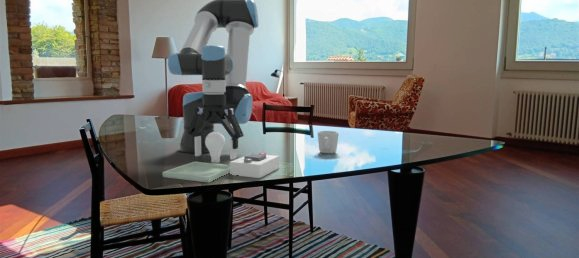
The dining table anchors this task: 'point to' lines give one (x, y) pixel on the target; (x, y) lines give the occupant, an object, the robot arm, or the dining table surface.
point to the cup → (328, 141)
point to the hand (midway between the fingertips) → (215, 157)
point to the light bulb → (215, 145)
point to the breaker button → (255, 157)
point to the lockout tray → (198, 171)
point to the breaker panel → (254, 166)
